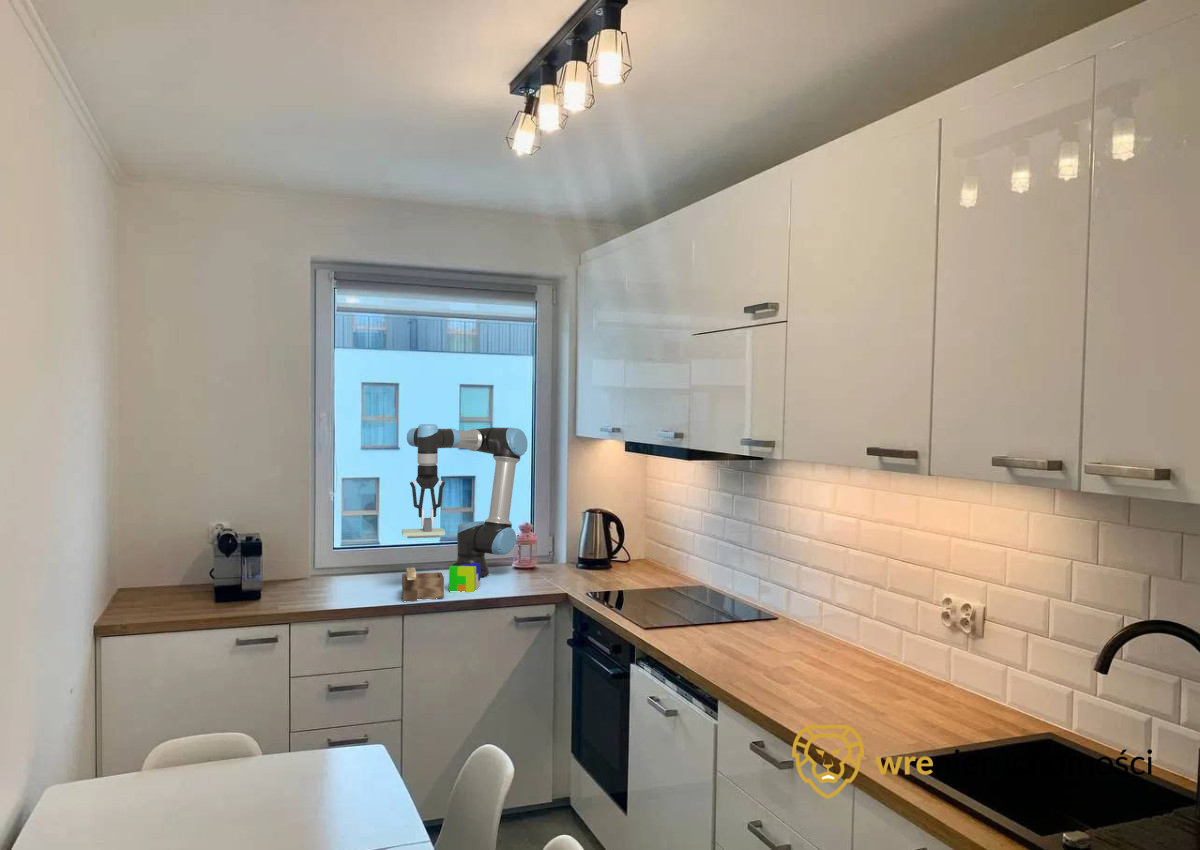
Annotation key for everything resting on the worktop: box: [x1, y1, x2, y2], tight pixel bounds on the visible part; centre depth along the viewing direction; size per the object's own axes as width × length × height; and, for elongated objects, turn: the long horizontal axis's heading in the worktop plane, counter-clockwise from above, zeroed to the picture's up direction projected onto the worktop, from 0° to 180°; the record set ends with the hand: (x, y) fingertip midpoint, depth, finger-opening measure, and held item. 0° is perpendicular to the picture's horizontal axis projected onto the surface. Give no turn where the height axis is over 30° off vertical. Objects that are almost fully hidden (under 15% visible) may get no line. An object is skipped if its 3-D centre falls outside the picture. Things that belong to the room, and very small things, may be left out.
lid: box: [401, 517, 446, 539], centre depth 327 cm, size 16×10×7 cm
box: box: [401, 572, 445, 602], centre depth 327 cm, size 15×13×9 cm
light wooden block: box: [405, 567, 417, 580], centre depth 316 cm, size 3×8×3 cm, turn 16°
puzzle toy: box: [448, 562, 481, 592], centre depth 340 cm, size 10×10×10 cm
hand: (427, 525), depth 328 cm, fingers closed on lid, 3 cm apart
